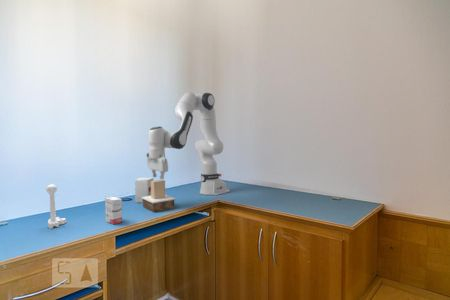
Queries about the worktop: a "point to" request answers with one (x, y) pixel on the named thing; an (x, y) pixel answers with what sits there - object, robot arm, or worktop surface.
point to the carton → (158, 189)
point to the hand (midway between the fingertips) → (158, 178)
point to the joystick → (53, 209)
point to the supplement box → (142, 188)
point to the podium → (158, 203)
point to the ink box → (113, 210)
